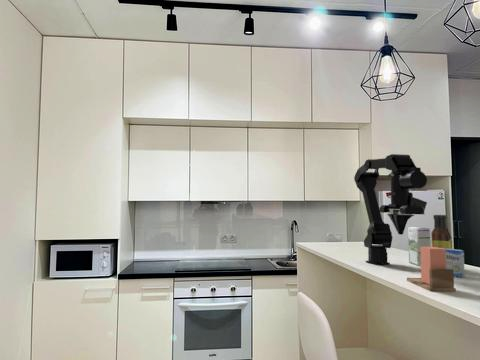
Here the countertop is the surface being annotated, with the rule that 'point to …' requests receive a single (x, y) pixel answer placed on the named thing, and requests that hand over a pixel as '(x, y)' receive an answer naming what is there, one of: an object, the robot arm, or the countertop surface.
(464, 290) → the countertop surface
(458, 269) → the medicine box
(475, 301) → the countertop surface
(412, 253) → the syrup box
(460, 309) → the countertop surface
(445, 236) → the sauce bottle
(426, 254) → the pink tall block
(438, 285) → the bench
